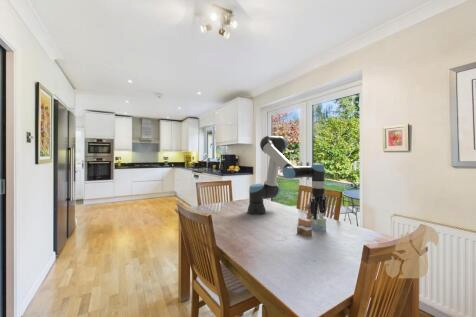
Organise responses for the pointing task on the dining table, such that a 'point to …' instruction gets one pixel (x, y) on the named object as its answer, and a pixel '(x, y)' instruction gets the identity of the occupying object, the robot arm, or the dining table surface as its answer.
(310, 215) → the mug
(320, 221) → the sage brick
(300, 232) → the walnut brick
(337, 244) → the dining table surface
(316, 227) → the blue brick
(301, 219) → the terracotta brick
